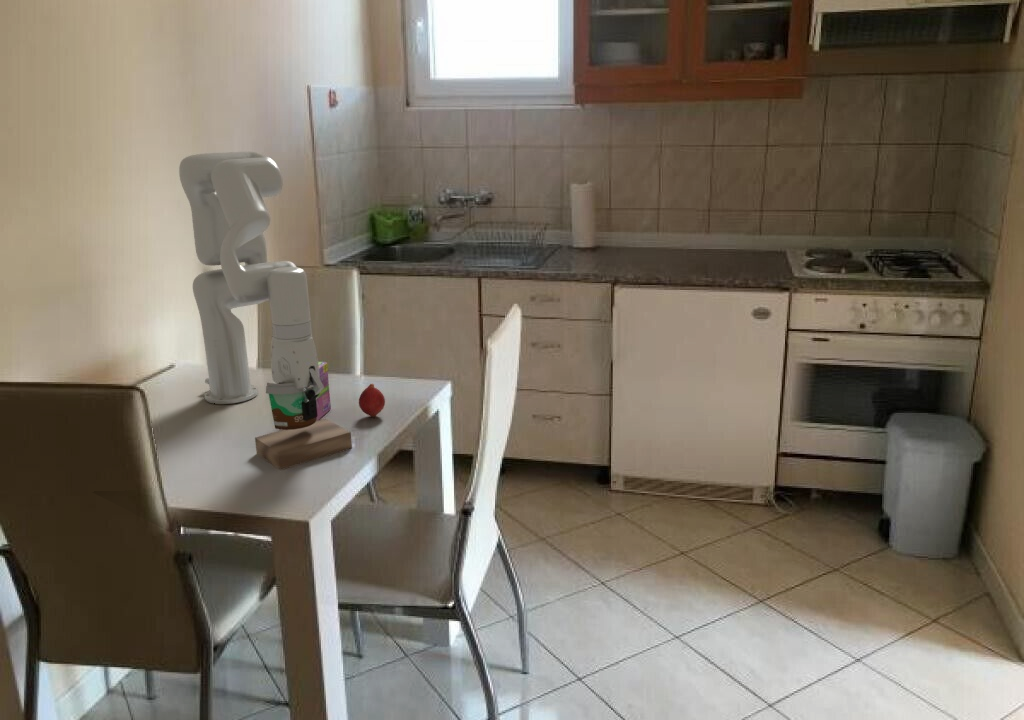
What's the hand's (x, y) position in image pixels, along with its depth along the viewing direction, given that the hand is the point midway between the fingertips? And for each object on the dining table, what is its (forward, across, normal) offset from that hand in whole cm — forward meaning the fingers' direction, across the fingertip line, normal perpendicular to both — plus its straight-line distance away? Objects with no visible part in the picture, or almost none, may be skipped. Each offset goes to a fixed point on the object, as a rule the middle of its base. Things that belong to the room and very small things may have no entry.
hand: (300, 414), depth 173 cm
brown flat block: (+8, 0, 0) cm, 8 cm away
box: (+8, -15, +14) cm, 22 cm away
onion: (+8, -3, +22) cm, 24 cm away
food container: (+2, +1, 0) cm, 2 cm away
